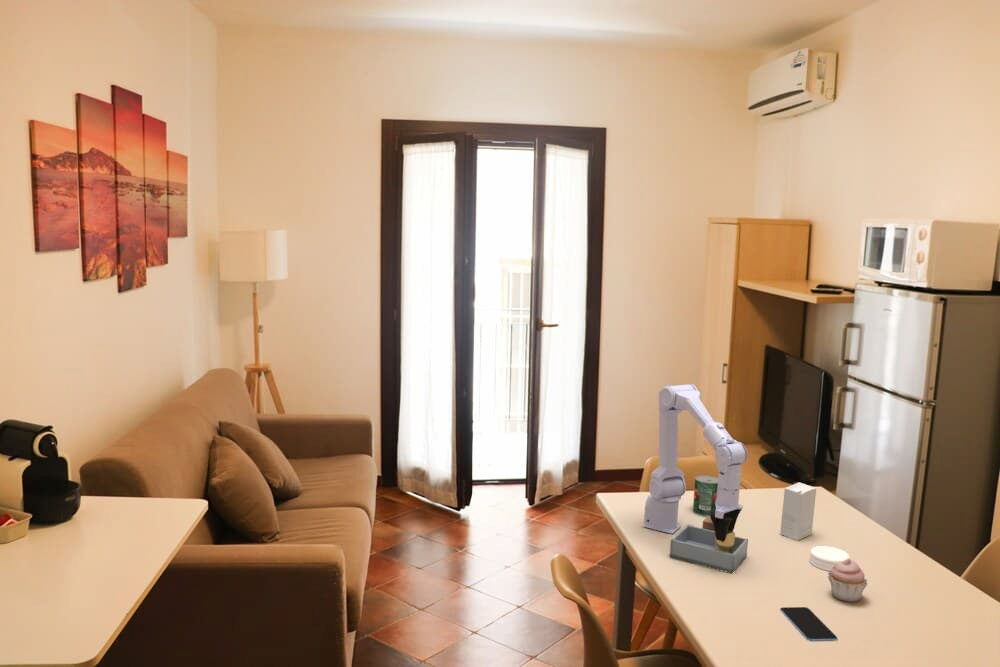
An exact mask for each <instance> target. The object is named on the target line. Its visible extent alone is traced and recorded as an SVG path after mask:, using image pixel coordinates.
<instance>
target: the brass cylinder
mask: <svg viewBox="0 0 1000 667" xmlns="http://www.w3.org/2000/svg"><path fill="white" fill-rule="evenodd" d="M735 536H736V532H734V530H733V531H731V530H727V534H726V538H725V541H719V540H716V536H715V549H714V550H718V551H722V552H726V553H730V554H733V553H734V540H735Z"/></svg>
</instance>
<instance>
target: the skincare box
mask: <svg viewBox="0 0 1000 667" xmlns="http://www.w3.org/2000/svg"><path fill="white" fill-rule="evenodd" d="M816 495H817V487H815V486H812V485H807V484H806V483H802V482H799V481H798V482H796V483H793V484H792V485H789V486H786V487H785V488H784V493H783V503H782V514H781V523H780V535H781V536H783V535H784V537H787V538H789V539H792V540H794V541H796V542H797V541H799V540H802V539H804V538H806V537H808V536H811V535H812V534H813V523H814V514H815V505H816Z"/></svg>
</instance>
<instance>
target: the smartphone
mask: <svg viewBox="0 0 1000 667" xmlns="http://www.w3.org/2000/svg"><path fill="white" fill-rule="evenodd" d="M779 610H780V612H781V613H782V614H783V615H784V616H785V618H787V620H788V621H789V622H790V623H791V624H792V625H793V627H795V629H796V630H797V631H798V633H799V634H800V635H801V636H803V637H804V639H805V638H806V641H808V640H809V642H834V641H833V640H837V641H838V640H839V638H838V636H836V634H835V633H834V632H833V631H832V630H831V629H830V628H829V627H828V626H827V625H826V624H825V623H824V622H823V621H822V620H821V619H820V618H819V617H818V616H817V615H816V614H815V613H814V612H813V611H812V610H811V609H810V608H809V607H806V606H797V607H796V606H795V607H794V606H793V607H790V606H788V607H780V608H779Z"/></svg>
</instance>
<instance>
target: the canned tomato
mask: <svg viewBox="0 0 1000 667" xmlns="http://www.w3.org/2000/svg"><path fill="white" fill-rule="evenodd" d="M717 486H718V477H717V476H713V475H708V474H699V475H696V476H695V478H694V490H693V503H692V512H693V514H695V513H696V514H695V515H697V514H698V515H697V516H700V515H702V516H701V517H706V516H710V514H711V513H712V512H713V513H715V510H716V505H715V502H716V499H717Z"/></svg>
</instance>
